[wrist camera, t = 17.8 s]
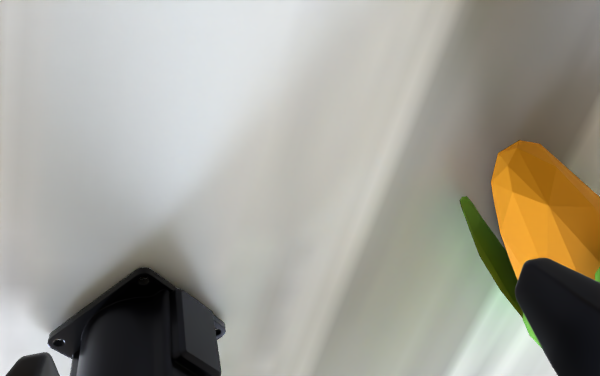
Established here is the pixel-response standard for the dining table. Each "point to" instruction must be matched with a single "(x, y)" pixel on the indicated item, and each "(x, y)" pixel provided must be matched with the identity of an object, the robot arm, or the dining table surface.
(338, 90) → the dining table surface
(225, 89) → the dining table surface
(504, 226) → the corn
